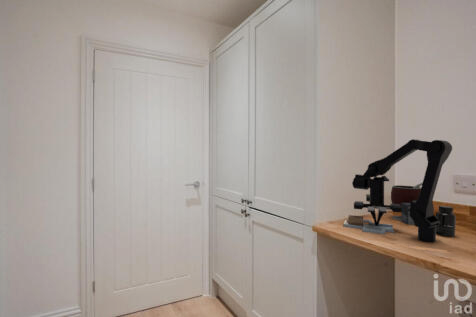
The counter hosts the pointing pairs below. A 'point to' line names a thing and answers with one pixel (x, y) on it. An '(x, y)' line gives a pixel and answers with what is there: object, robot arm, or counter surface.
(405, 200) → the mate gourd
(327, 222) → the counter surface
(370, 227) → the trap tray
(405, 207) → the small box
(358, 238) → the counter surface
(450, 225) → the supplement bottle
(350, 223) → the walnut block
